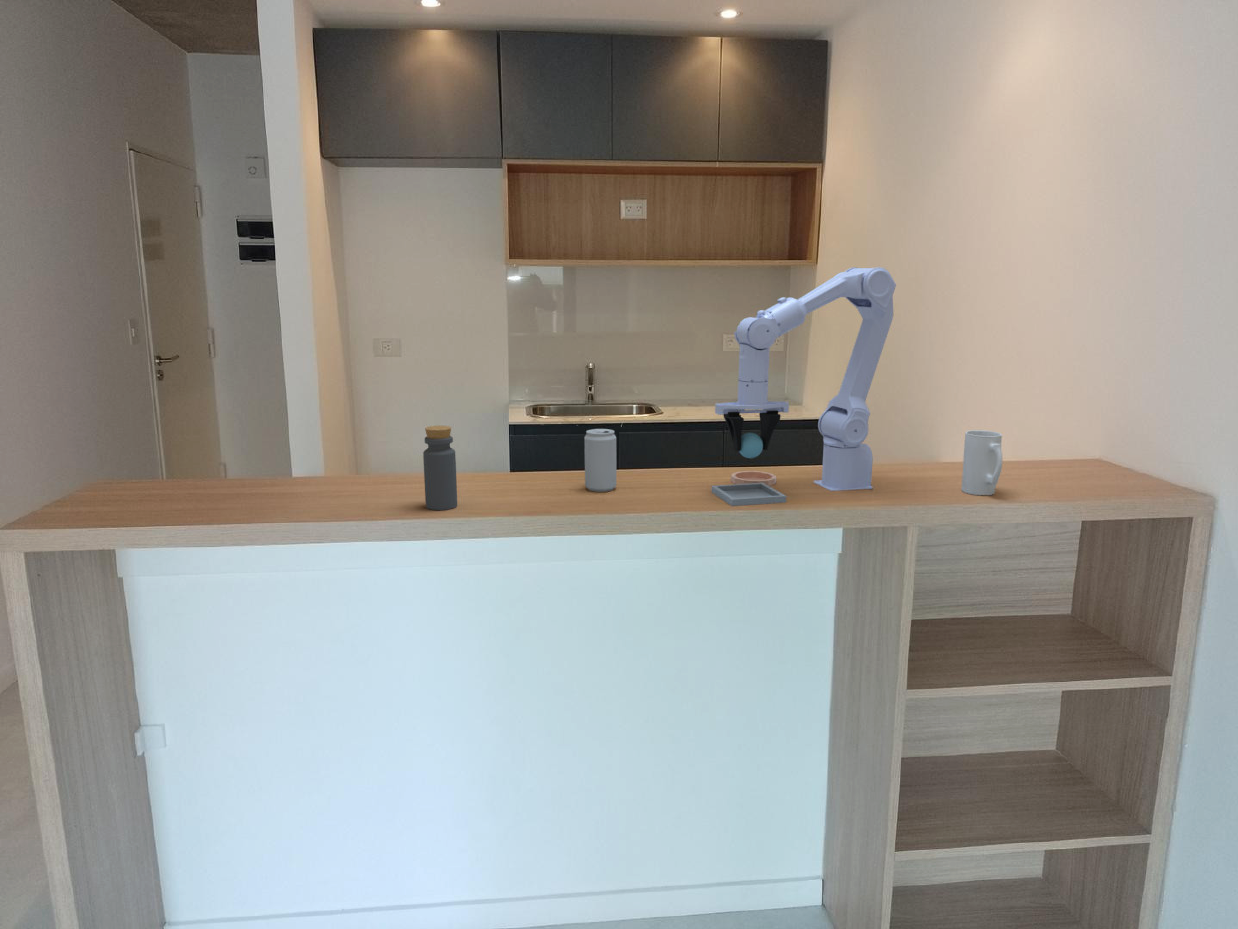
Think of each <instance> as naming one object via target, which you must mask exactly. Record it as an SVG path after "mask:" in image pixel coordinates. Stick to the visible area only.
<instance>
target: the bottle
mask: <svg viewBox="0 0 1238 929" xmlns="http://www.w3.org/2000/svg"><path fill="white" fill-rule="evenodd" d="M424 429H425V430H424V431H425V434H426V437H424V444H426V445H427V448H426V449H424V450H423V457H422V458H423V460H422V461H423V479H424V480H423V481H424V494H425V495H424V498H425V507H426V509H427V510H431V511H432V510H433V511H446V510H452V509H454V508H457V507H458V489H457V488H458V486H457V458H456V449H454V448H452V447H451V444H452V443H453V442H454V438H453V436H452V435H451V432H452V427H451V426H449V425H431V426H426V427H425V428H424Z"/></svg>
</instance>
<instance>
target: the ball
mask: <svg viewBox="0 0 1238 929" xmlns="http://www.w3.org/2000/svg"><path fill="white" fill-rule="evenodd" d="M738 452H739V453H740V454H741V456H742V457H744V458H746V459H754V458H756V457H759V455H760V454H761V453H763V441H762V439H761V438H760V435H758V434H757V433H754V432H747V433H743V434H741V451H738Z"/></svg>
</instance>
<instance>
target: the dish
mask: <svg viewBox="0 0 1238 929" xmlns="http://www.w3.org/2000/svg"><path fill="white" fill-rule="evenodd" d="M730 482H731V483H732V484H750V483H764V484H766V485H768V486H770V487H773V486H774V485H776V483H777V476H776V475H775V474H774V473H771V472H766V471H762V470H761V471H759V470H743V471H741V470H740V471H736V472H732V473H731V476H730Z"/></svg>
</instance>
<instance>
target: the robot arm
mask: <svg viewBox="0 0 1238 929" xmlns="http://www.w3.org/2000/svg"><path fill="white" fill-rule="evenodd" d="M896 287H897V284H896V283H895V280H894V278H893V277H892V274H891V273H890V271H888V270H887V269H885V268H884V267H880V266H879V267H878V266H877V267H869V268H868V267H864V268H863V267H860V268H859V267H850V268H848V269H846V270H844V271H842V272H839V273H837V274H836V275H834V276H833V277H831V278H830V279H828V280H827V281H825V282H823V283H822V284H821V285H818V286H817V287H815V288H814V289H812V290H811V291H809V292H808V293H806V294H804V295H803V296H801V297H799V298H795V297H784V296H783V297H780V298H778V299H777V303H775V304H774V305H772V306H770V307H769V308H767V309H765V310H763V309H760V310H758V311H757V312H756V314H757V315H756V316H755V317H751V316H749V317H745V318H743V319H742V320H741V321H740V322H739V325H738V324H737V325H738V326H737V328H736V331H734V332H733V333H734V339H735V342H736V343H737V344H738V346H739V356H738V383H737V401H732V402H730V401H729V402H721V403H718V402H717V403H714V404H715V407H714V414H716V415H718V416H719V415H720V416H723V419H724V420H725V423H726V425H727V428H728V430H729V433H730V435H731V442H732V447H733V450H734V451H736V452H739V451H741V436H742V431H743V425H744V422H745V419H744V417H742V415H741V414H758V415H759V422H760V426H759V427H760V435H759V437H760V438H761V439H762V441H763V449H762V451H767V450H768V449H769V445H770V441H771V438H772V435H773V433H774V431H775V428H776V427H777V425H778V423H779V422H780V420H781V418H782V417H781V414H780V413H784V414H785V413H786V414H787V413H788V414H789V411H790V410H789V409H790V402H787V401H769V400H768V396H769V395H768V394H769V393H768V392H769V373H770V371H769V370H770V369H769V367H770V351H771V350H770V348H771V347H772V346H773V344H775V342H776V340H777V339H778V338H779V337H781V336H783V335H785V334H786V333H789V332H791V330H794V329H795V328H797V327H799V326H801V325H802V324H804V322H805V321H806V317H807V315H808V314H810V313H812V312H813V311H816V310H817V309H820V308H822V307H824V306H826V305H827V304H828V305H829V304H830V303H831V302H834V301H836V300H838V299H840V298H845V299H846V300H848V301H849V303H850V304H852V305H853V306H854V307H855V308H856V309H857V311H858V313H859V314H860V316H861V318H862V321H861V325H860V328H859V331H858V334H857V337H856V339H855V342H854V345H853V348H852V351H851V354H850V357H849V360H848V363H847V366H846V370H845V372H844V373H845V374H844V376H843V379H842V382H841V385H840V387H839V388H840V389H839V391H838V393H837V394H836V395H835V396H834V397H832V399H831V400H829V401H828V405H827V407H826V408H825V409H824V411H823V413H822V414H820V416H819V418H818V422H817V428H818V431H819V433H820V435H821V436H822V437H823V438H822V441H823V451H822V452H823V454H822V469H821V479H819V480H813V483H814V484H816V485H818V486H820V487H822V488H824V489H826V490H828V491H830V492H834V491H835V492H838V491H852V490H865V489H866V490H873V486H872V476H873V475H872V474H873V473H872V472H873V459H874V458H873V453H872V449H871V447H870V445H868V444H867V443H863V442H864V441H865V440H866V439H867V437H868V434H869V418H870V414H871V412H870V409H869V408H868V404H867V403H866V401H867V398H868V394H869V391H870V389H871V385H872V382H873V379H874V376H875V373H876V371H877V368H878V364H879V361H880V358H881V355H882V353H883V349H884V347H885V343H886V339H887V337H888V334H889V331H890V328H891V325H892V322H893V320H894V301H893V300H894V299H893V298H894V292H895V290H896Z"/></svg>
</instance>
